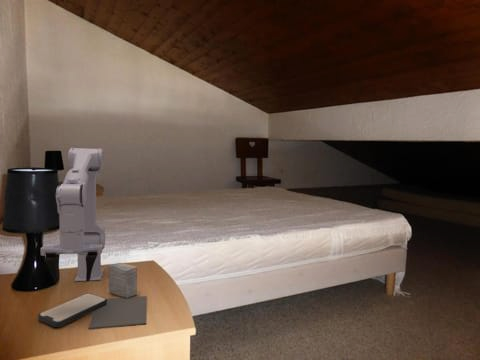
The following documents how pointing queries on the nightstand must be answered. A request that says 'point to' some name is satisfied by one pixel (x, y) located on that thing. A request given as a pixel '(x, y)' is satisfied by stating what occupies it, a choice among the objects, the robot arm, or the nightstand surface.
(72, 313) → the phone case
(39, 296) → the nightstand surface
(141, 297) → the mat
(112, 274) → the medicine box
